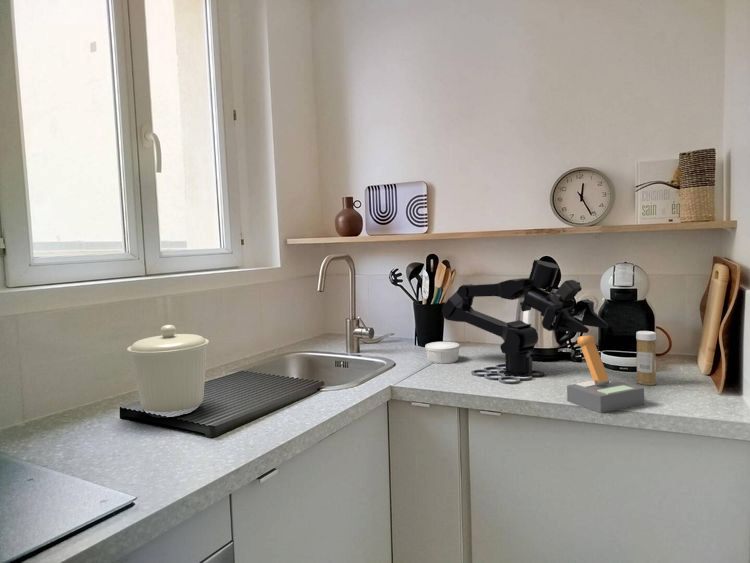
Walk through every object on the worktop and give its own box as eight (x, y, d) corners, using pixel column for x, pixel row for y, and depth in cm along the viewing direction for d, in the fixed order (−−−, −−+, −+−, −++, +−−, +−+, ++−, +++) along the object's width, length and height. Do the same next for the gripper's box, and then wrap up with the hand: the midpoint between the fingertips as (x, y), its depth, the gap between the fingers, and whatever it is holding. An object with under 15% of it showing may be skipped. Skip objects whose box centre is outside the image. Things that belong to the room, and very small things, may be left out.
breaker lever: (594, 387, 120) (575, 338, 125) (604, 385, 122) (586, 337, 126) (601, 384, 118) (582, 335, 123) (611, 382, 120) (592, 333, 124)
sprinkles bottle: (659, 383, 134) (659, 331, 133) (650, 386, 131) (650, 334, 130) (642, 380, 137) (642, 329, 136) (632, 383, 135) (632, 331, 134)
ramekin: (432, 366, 162) (432, 349, 161) (421, 358, 173) (420, 343, 172) (465, 362, 164) (465, 346, 164) (452, 355, 175) (452, 340, 175)
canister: (137, 431, 112) (131, 334, 110) (127, 410, 127) (121, 324, 126) (221, 414, 122) (216, 324, 120) (202, 396, 137) (197, 317, 135)
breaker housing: (567, 400, 122) (567, 384, 122) (608, 393, 127) (608, 377, 127) (600, 413, 113) (600, 395, 113) (643, 404, 118) (643, 387, 117)
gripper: (534, 277, 132) (589, 303, 121) (573, 273, 143) (627, 295, 132) (521, 317, 135) (573, 345, 124) (561, 309, 147) (612, 334, 136)
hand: (597, 328), depth 129 cm, fingers open, 9 cm apart
